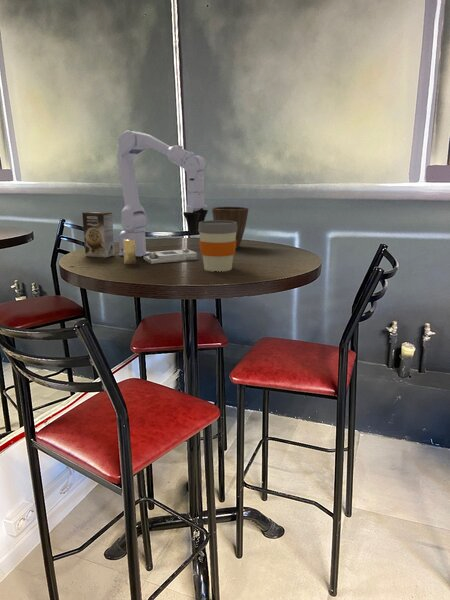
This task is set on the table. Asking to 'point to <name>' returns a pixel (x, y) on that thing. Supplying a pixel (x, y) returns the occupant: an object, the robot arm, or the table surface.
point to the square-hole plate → (170, 256)
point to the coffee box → (98, 234)
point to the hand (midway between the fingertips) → (196, 231)
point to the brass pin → (129, 251)
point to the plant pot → (232, 218)
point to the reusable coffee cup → (217, 244)
